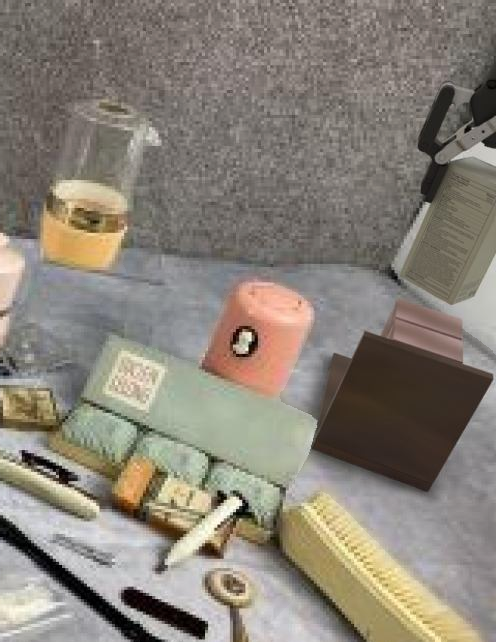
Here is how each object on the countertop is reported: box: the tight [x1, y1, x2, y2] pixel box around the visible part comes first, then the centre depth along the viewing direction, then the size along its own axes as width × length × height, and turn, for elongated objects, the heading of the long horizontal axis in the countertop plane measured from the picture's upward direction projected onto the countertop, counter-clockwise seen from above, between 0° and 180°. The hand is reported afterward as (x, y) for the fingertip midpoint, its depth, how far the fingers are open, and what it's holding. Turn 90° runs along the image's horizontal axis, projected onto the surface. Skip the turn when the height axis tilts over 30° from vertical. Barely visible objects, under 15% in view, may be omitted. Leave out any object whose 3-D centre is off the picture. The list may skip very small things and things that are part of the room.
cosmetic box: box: [398, 156, 496, 306], centre depth 88 cm, size 6×4×12 cm
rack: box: [311, 297, 494, 492], centre depth 91 cm, size 18×11×13 cm, turn 158°
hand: (470, 212), depth 87 cm, fingers closed on cosmetic box, 7 cm apart
